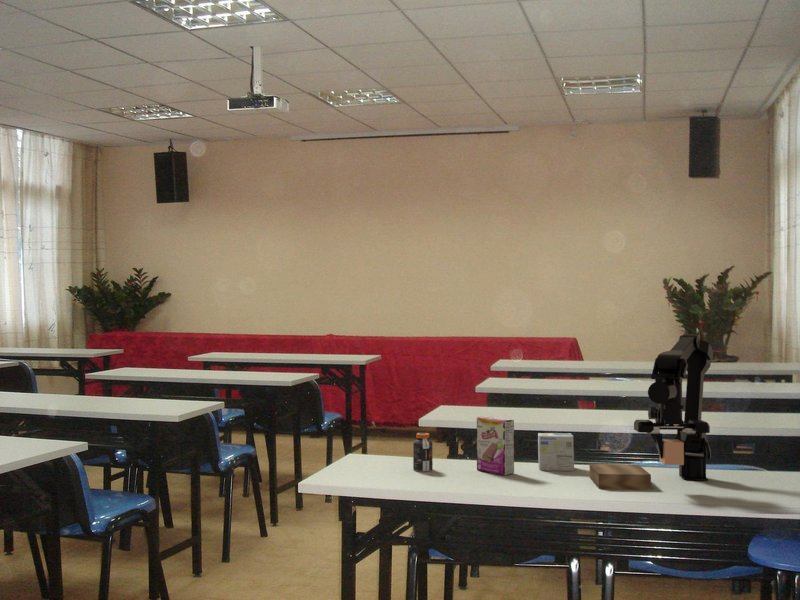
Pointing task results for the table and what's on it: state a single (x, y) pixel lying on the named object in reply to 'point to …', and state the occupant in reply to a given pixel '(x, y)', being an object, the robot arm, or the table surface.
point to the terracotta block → (673, 452)
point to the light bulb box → (556, 451)
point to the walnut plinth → (619, 476)
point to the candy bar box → (495, 445)
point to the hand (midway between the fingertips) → (671, 458)
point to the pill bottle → (422, 453)
